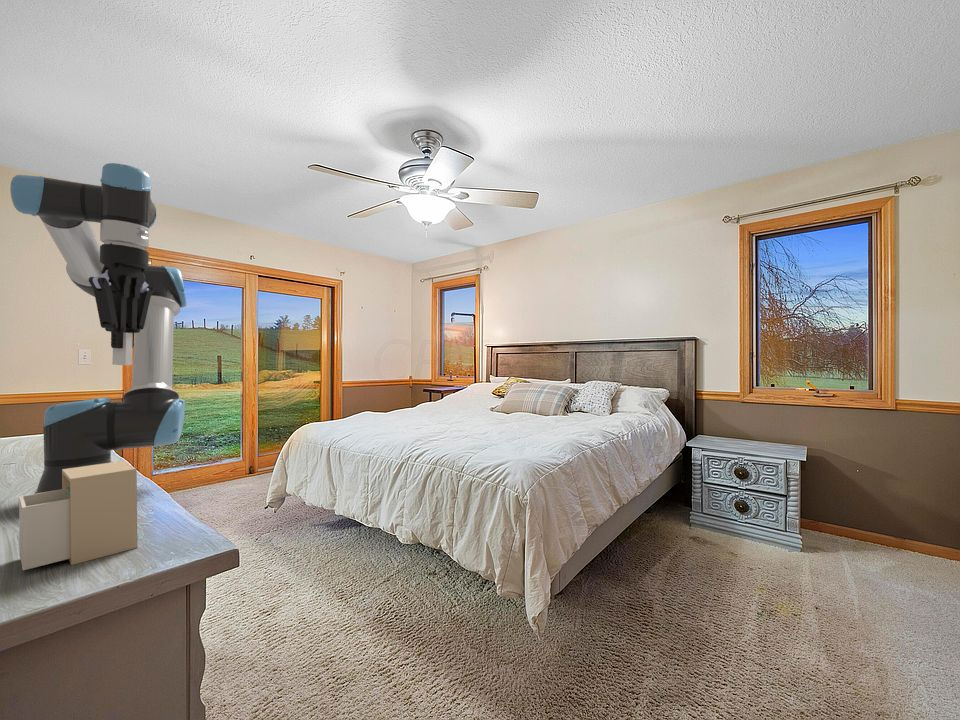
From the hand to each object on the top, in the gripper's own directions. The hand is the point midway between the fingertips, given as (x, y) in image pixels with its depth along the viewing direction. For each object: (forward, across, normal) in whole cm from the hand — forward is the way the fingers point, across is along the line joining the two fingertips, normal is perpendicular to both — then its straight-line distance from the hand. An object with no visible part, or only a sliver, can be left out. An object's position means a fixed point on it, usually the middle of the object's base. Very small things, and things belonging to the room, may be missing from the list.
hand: (122, 364), depth 87 cm
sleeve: (+29, -16, -11) cm, 35 cm away
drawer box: (+28, -19, -8) cm, 35 cm away
